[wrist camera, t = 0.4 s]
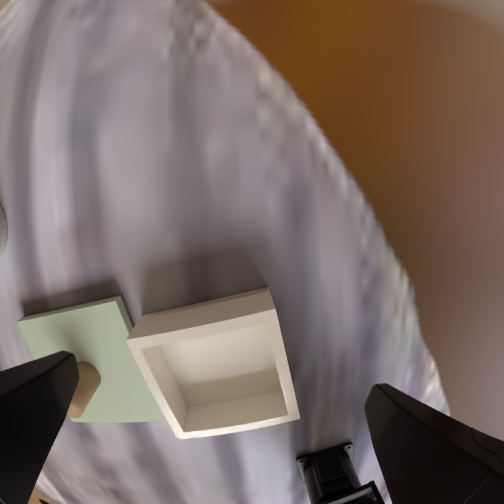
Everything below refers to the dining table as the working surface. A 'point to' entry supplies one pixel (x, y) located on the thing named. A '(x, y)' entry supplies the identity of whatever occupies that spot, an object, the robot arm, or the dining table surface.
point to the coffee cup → (2, 231)
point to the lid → (95, 360)
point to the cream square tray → (217, 365)
